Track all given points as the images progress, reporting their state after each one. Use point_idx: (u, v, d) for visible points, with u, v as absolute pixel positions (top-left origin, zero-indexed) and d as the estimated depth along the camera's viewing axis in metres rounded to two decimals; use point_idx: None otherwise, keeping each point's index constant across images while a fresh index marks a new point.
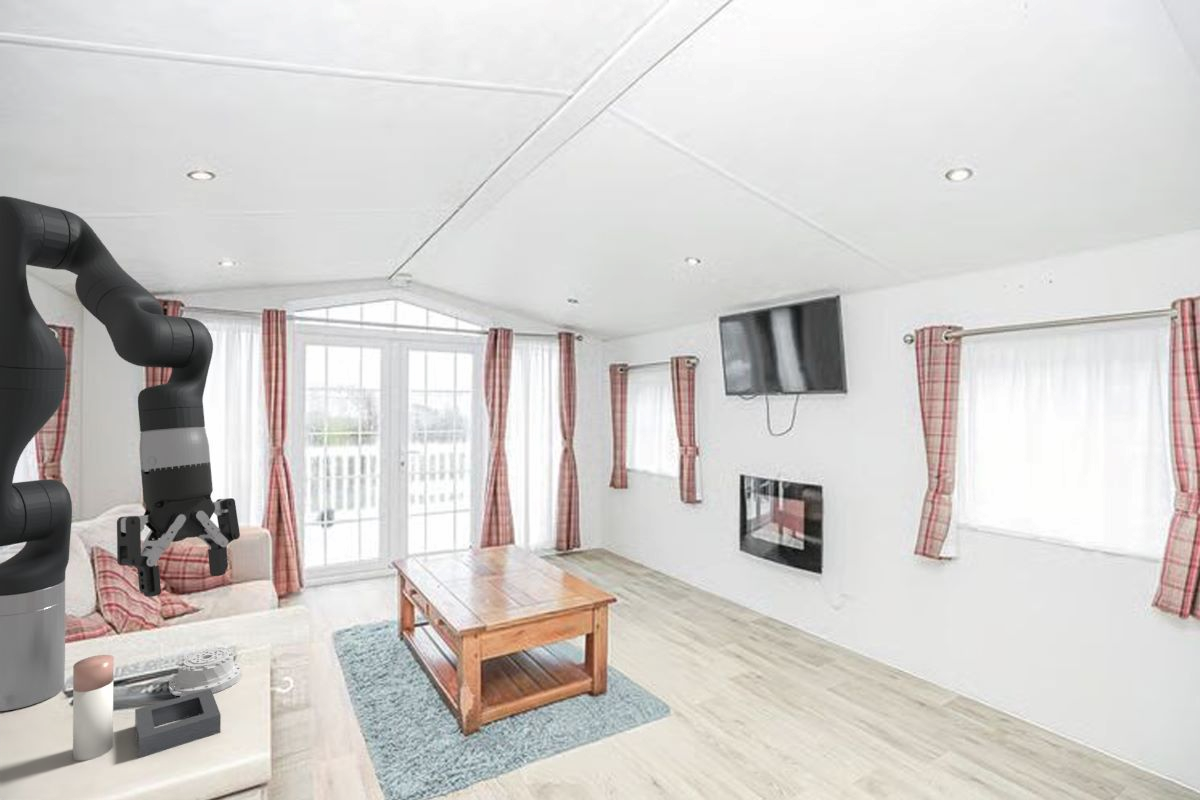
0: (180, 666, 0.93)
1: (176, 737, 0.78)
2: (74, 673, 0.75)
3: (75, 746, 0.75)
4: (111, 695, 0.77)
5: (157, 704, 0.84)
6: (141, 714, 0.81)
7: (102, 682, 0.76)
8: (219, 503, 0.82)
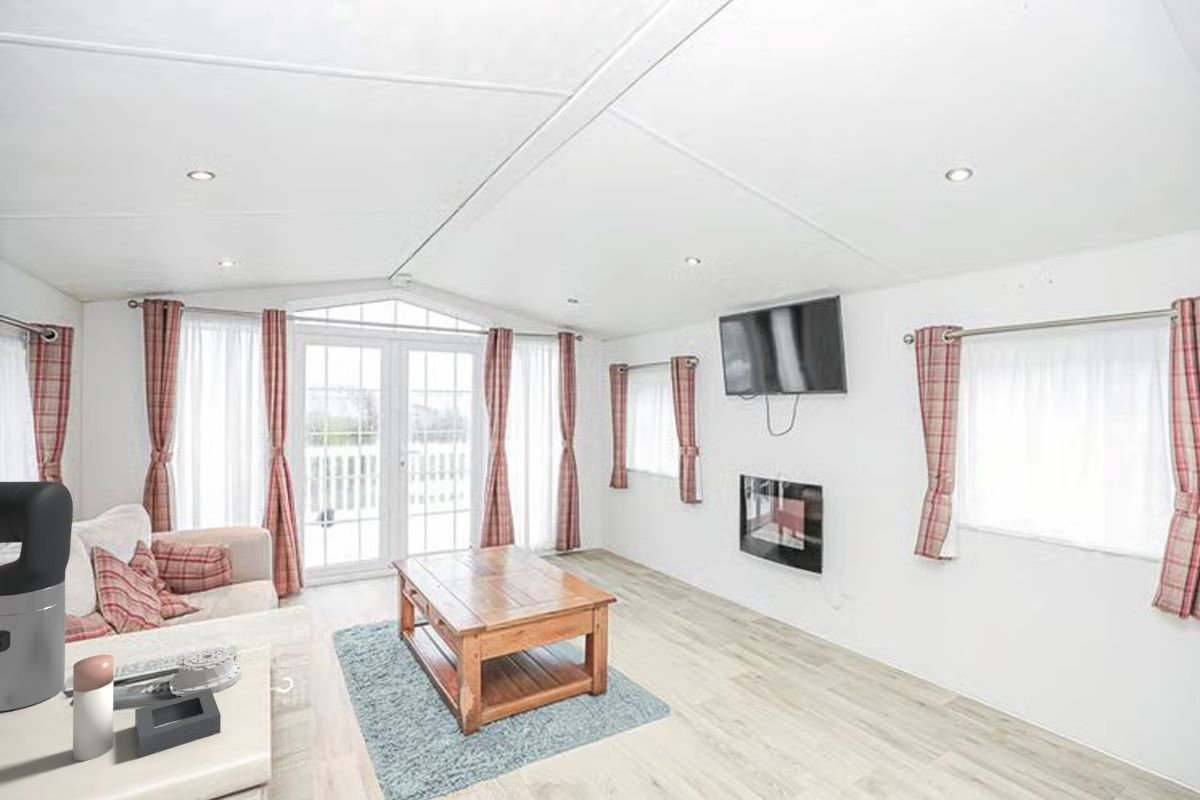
0: (180, 666, 0.93)
1: (176, 737, 0.78)
2: (74, 673, 0.75)
3: (75, 746, 0.75)
4: (111, 695, 0.77)
5: (157, 704, 0.84)
6: (141, 714, 0.81)
7: (102, 682, 0.76)
8: None
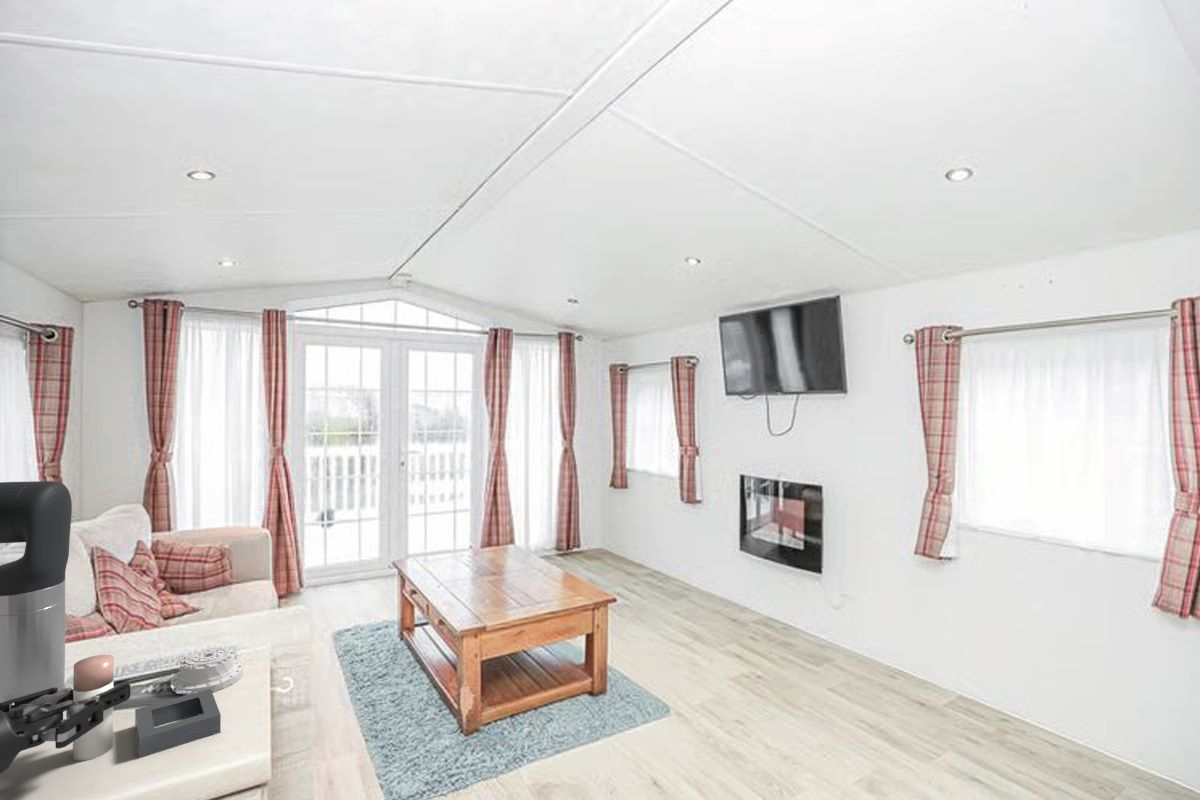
0: (182, 664, 0.93)
1: (176, 737, 0.78)
2: (74, 673, 0.75)
3: (75, 746, 0.75)
4: None
5: (157, 704, 0.84)
6: (141, 714, 0.81)
7: (102, 682, 0.76)
8: None
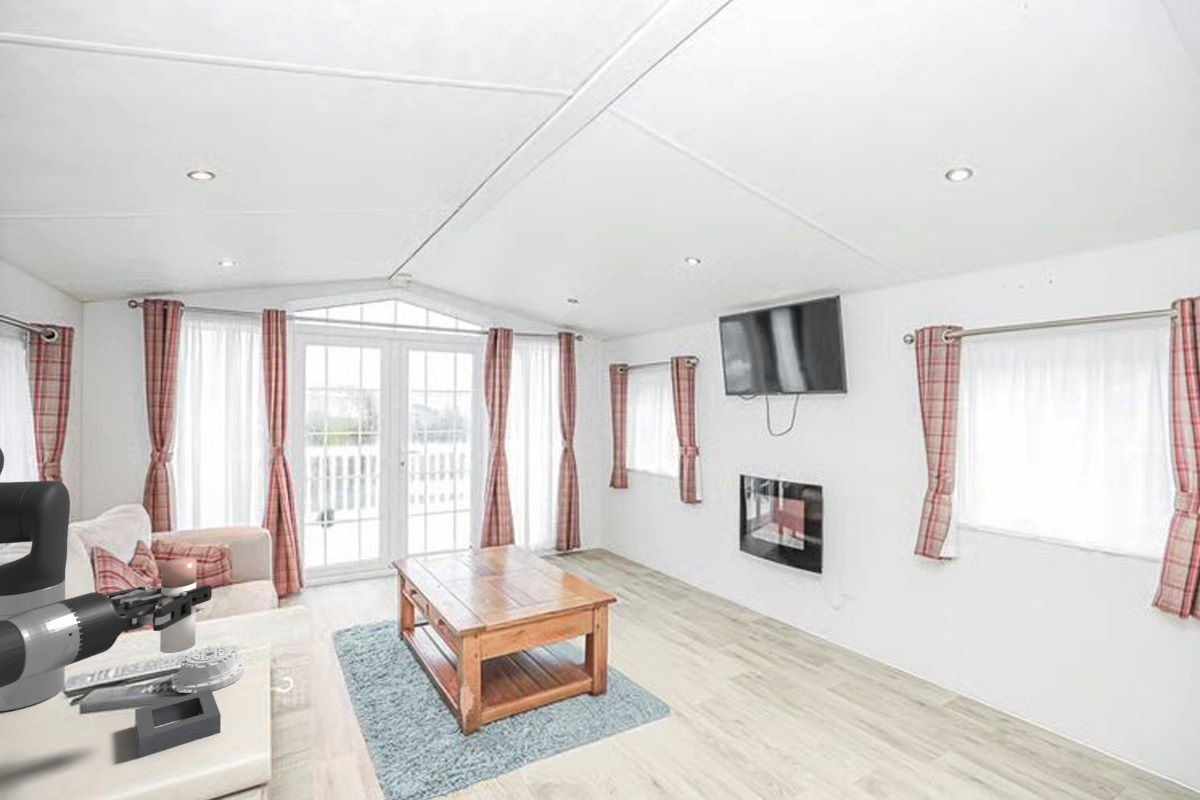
0: (183, 663, 0.94)
1: (176, 737, 0.78)
2: (162, 571, 0.80)
3: (163, 639, 0.80)
4: None
5: (157, 704, 0.84)
6: (141, 714, 0.81)
7: (188, 580, 0.81)
8: (149, 623, 0.73)
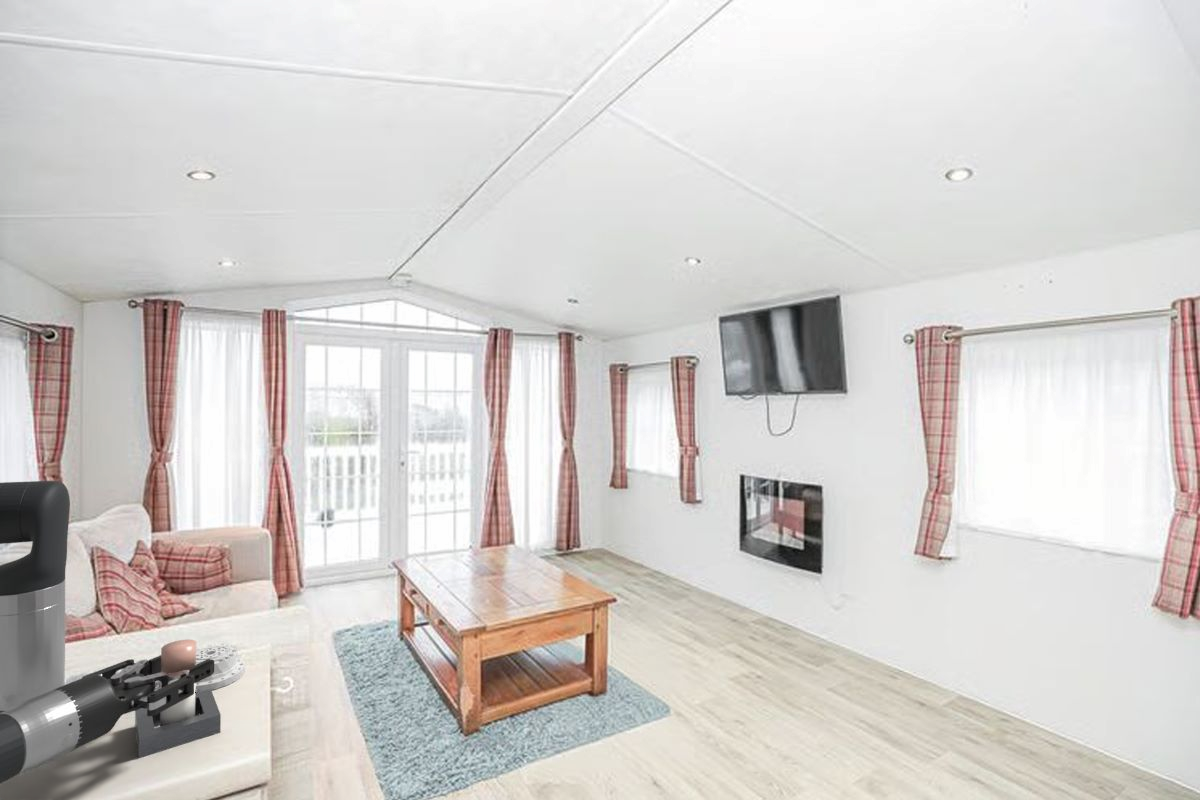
0: None
1: (176, 737, 0.78)
2: (162, 656, 0.80)
3: (163, 724, 0.80)
4: None
5: None
6: (141, 714, 0.81)
7: (187, 665, 0.81)
8: None
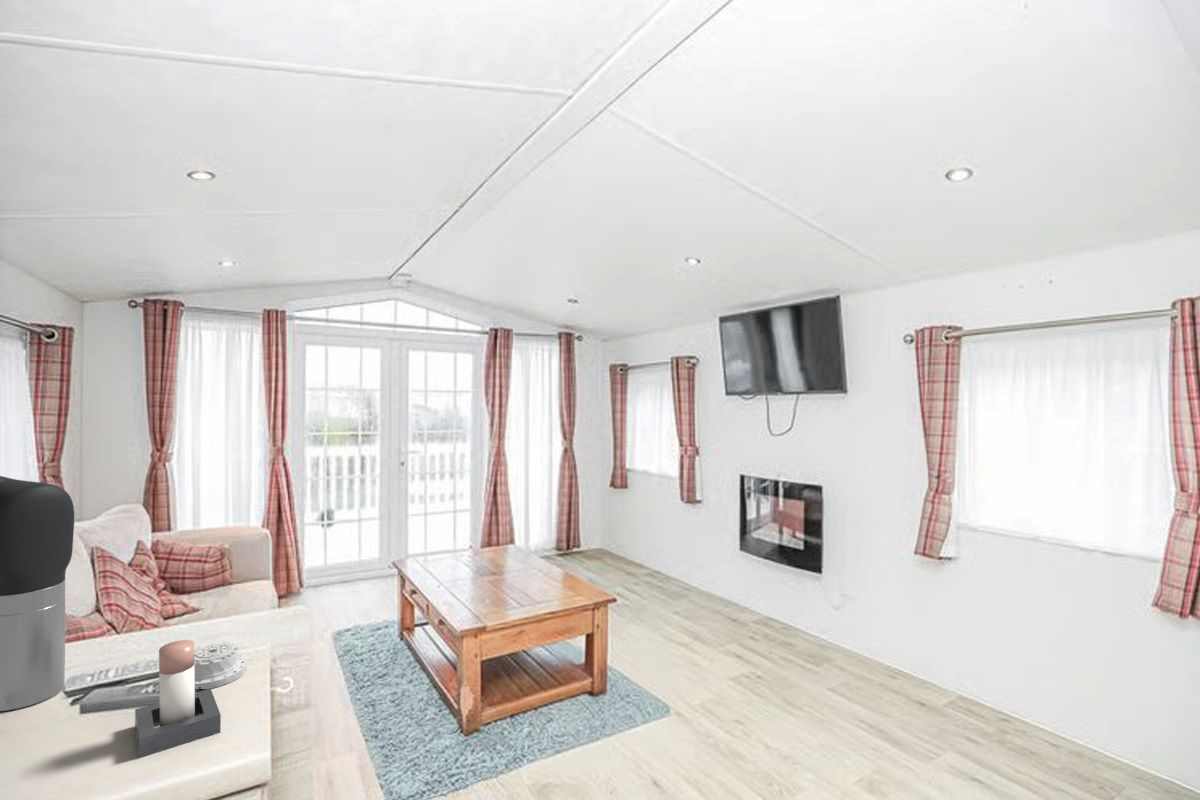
0: None
1: (176, 737, 0.78)
2: (160, 657, 0.80)
3: (162, 725, 0.80)
4: (193, 677, 0.82)
5: (157, 704, 0.84)
6: (141, 714, 0.81)
7: (186, 665, 0.81)
8: None
